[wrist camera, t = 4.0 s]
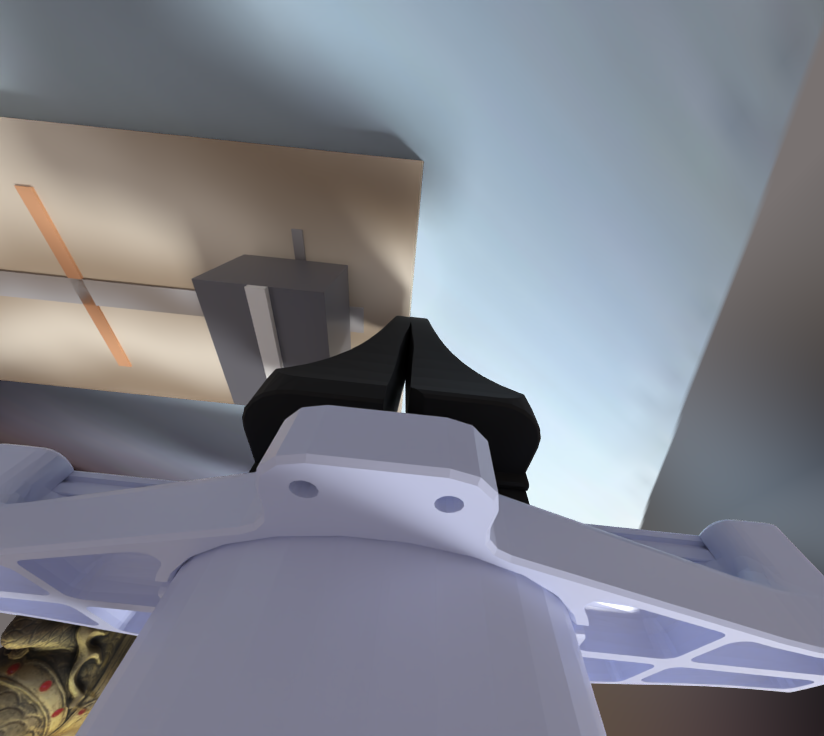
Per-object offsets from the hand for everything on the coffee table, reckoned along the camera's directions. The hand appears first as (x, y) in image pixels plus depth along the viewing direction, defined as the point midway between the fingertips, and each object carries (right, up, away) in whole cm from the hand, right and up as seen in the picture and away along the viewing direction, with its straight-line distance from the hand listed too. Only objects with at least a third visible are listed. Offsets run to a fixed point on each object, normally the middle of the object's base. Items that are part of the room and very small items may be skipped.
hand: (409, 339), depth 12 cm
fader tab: (-5, +1, +1) cm, 5 cm away
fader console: (-11, +3, +2) cm, 12 cm away
